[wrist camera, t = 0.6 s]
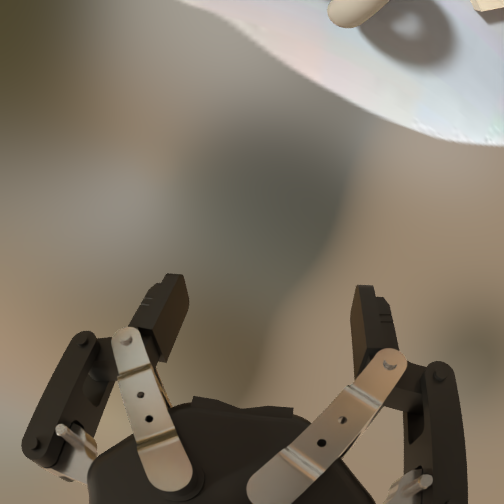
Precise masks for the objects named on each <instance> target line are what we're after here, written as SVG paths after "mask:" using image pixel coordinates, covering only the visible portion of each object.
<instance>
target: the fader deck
mask: <svg viewBox="0 0 504 504" xmlns="http://www.w3.org/2000/svg"><path fill="white" fill-rule="evenodd" d="M470 1H471V3H472V5H473V7H474V10H478V11H481V12H482V11H487V10H492V9H497V8H502V7H504V0H470Z"/></svg>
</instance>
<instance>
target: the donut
mask: <svg viewBox="0 0 504 504" xmlns="http://www.w3.org/2000/svg"><path fill="white" fill-rule="evenodd" d="M388 1H389V0H332V1H331V2H330V4H329V5H328V9H327V12H328V16H329V18H330V20H331V21H332V22H333V23H334V24H336V25H337V26H339V27H343V28H354V27H357V26H359V25H361V24H362V23H364V22H365V21H366V20H368V19H369V18H370V17H372V16H373V15H374V14H375V13H376V12H378V11H379V10H380V9H381V8H382V7H383V6H384V5H385V4H386V3H387V2H388Z"/></svg>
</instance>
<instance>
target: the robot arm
mask: <svg viewBox="0 0 504 504" xmlns="http://www.w3.org/2000/svg"><path fill="white" fill-rule="evenodd" d="M188 308H189V297H188V292H187V288H186V284H185V280H184V276H183V275H181V274H169V273H167V274H166V275H165V277H164V279H163V280H162V282H161V283H156V284H155V285H154V286H153V287H151V288H150V289H149V290H148V292H147V294H146V295H145V298H144V299H143V301H142V302H141V305H140V306H139V308H138V309H137V311H136V313H135V315H134V316H133V318H132V320H131V322H130V324H129V325H128V327H124V328H122V329H120V330H118V331H117V332H116V333H115V334H114V335H113V337H108V338H98V339H97V338H96V336H95V335H94V333H92V332H91V331H83V332H80V333H78V334H76V335H75V336H74V337H73V338H72V340H71V342H70V344H69V345H68V347H67V349H66V351H65V352H64V354H63V356H62V358H61V360H60V362H59V364H58V365H57V367H56V369H55V371H54V373H53V375H52V377H51V379H50V381H49V383H48V385H47V387H46V389H45V391H44V393H43V395H42V397H41V399H40V401H39V403H38V405H37V407H36V410H35V412H34V414H33V416H32V418H31V421H30V423H29V425H28V427H27V430H26V432H25V434H24V437H23V439H22V445H21V446H22V451H23V453H24V455H25V456H26V457H27V458H29V459H30V460H32V461H33V462H35V463H36V464H38V466H40V467H41V468H43V469H45V470H46V471H48V472H50V473H51V474H53V475H55V476H58V477H60V478H62V479H63V480H66V481H68V482H72V481H77V482H79V483H81V484H83V485H86V486H88V492H89V504H376V503H375V501H374V499H373V498H372V496H371V495H370V494H369V493H368V491H367V490H366V489H365V488H364V487H363V485H362V484H361V483H360V482H359V481H358V479H357V478H356V477H355V476H354V474H353V473H352V472H351V471H350V469H349V468H348V467H347V465H346V464H345V463H344V462H343V460H342V459H343V458H344V456H345V455H346V454H347V453H348V452H349V451H350V449H351V448H352V447H353V445H355V443H356V442H357V441H358V439H359V438H360V437H361V435H362V434H363V433H364V432H365V430H366V429H367V428H368V427H369V425H370V424H371V423H372V421H373V420H374V419H375V417H376V416H377V415H378V413H379V412H380V411H381V409H382V408H383V407H384V406H386V407H389V408H393V409H397V410H401V411H403V423H404V424H403V425H404V475H403V476H402V477H401V478H399V479H398V480H396V481H395V482H394V483H393V484H392V485H391V487H390V489H389V492H388V496H387V498H386V500H385V501H384V503H383V504H468V482H467V461H466V449H465V438H464V430H463V422H462V414H461V408H460V402H459V396H458V390H457V384H456V379H455V375H454V371H453V369H452V368H451V367H450V366H449V365H448V364H446V363H444V362H441V361H435V362H432V363H430V364H429V365H428V366H427V367H424V366H420V365H416V364H413V363H410V362H409V361H407V360H406V358H405V356H404V355H403V354H402V353H401V352H400V351H399V348H398V342H397V337H396V333H395V328H394V324H393V319H392V316H391V310H390V305H389V304H388V303H387V301H386V300H385V299H384V298H383V297H376V296H375V291H374V287H373V286H371V285H357V286H356V289H355V294H354V299H353V303H352V308H351V315H350V323H351V334H352V346H353V361H354V377H355V381H354V382H353V383H352V384H351V385H350V386H349V385H348V386H346V387H345V388H344V389H343V390H342V391H341V393H340V394H339V395H338V396H337V397H336V398H335V399H334V400H333V401H332V402H331V404H330V405H329V406H328V407H327V408H326V409H325V410H324V411H323V412H322V413H321V414H320V415H319V416H318V417H317V418H316V419H315V420H314V421H313V422H312V423H310V422H309V421H308V420H306V419H304V418H302V417H300V416H297V415H294V414H293V408H288V407H275V406H263V407H255V408H246V409H240V408H237V407H234V406H232V405H229V404H227V403H224V402H221V401H219V400H215V399H209V398H202V397H196V396H193V400H192V402H191V403H184V404H180V405H177V406H174V407H172V405H171V403H170V401H169V398H168V396H167V394H166V391H165V389H164V386H163V384H162V381H161V379H160V376H159V374H158V371H157V369H156V365H157V363H158V361H159V362H165V363H166V362H167V360H168V357H169V355H170V352H171V350H172V348H173V345H174V343H175V340H176V338H177V335H178V333H179V331H180V328H181V326H182V323H183V321H184V319H185V316H186V314H187V311H188ZM115 381H118V384H119V388H120V392H121V395H122V399H123V402H124V406H125V409H126V412H127V415H128V418H129V422H130V425H131V428H132V431H133V434H131V435H130V436H128V437H127V438H125V439H124V440H122V441H121V442H119V443H118V444H116V445H115V446H113V447H111V448H110V449H108V450H107V451H105V452H104V453H102V454H101V455H99V456H98V457H97V443H96V441H95V439H94V435H95V433H96V430H97V427H98V425H99V422H100V419H101V416H102V414H103V411H104V409H105V406H106V404H107V401H108V398H109V396H110V393H111V391H112V388H113V386H114V383H115ZM96 457H97V458H96Z"/></svg>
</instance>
